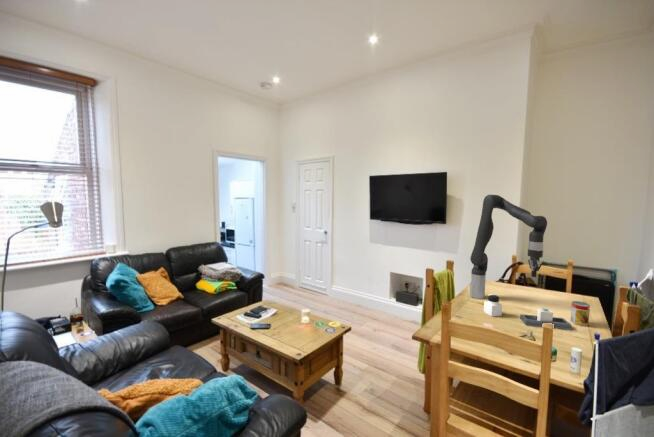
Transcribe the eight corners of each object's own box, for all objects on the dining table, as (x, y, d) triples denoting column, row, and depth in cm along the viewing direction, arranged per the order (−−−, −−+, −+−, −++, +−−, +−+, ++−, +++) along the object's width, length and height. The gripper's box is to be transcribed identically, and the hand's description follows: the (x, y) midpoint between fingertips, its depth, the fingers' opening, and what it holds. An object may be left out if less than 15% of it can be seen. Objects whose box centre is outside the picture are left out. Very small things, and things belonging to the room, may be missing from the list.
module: (540, 323, 167) (540, 309, 166) (536, 320, 171) (537, 307, 170) (552, 324, 166) (553, 310, 165) (548, 321, 169) (549, 308, 169)
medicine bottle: (501, 315, 179) (502, 297, 178) (491, 316, 178) (492, 297, 177) (493, 311, 186) (494, 293, 185) (483, 312, 185) (484, 293, 184)
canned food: (591, 327, 164) (593, 306, 163) (576, 325, 166) (577, 305, 165) (582, 320, 172) (583, 301, 171) (567, 319, 173) (568, 300, 172)
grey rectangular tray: (526, 325, 166) (526, 320, 166) (519, 318, 176) (519, 313, 176) (571, 330, 161) (571, 325, 160) (562, 322, 170) (562, 317, 170)
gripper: (524, 246, 182) (522, 273, 184) (533, 250, 169) (531, 279, 171) (537, 247, 180) (536, 274, 182) (547, 251, 167) (545, 280, 169)
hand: (533, 276), depth 176 cm, fingers closed
